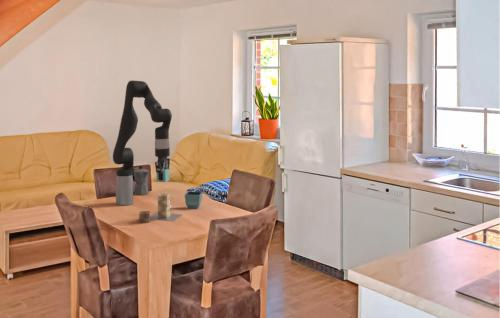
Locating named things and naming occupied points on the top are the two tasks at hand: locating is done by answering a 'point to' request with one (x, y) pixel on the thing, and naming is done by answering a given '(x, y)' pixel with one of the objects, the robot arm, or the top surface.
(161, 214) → the tower base block
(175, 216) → the slate board
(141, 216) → the walnut block
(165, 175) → the teal block
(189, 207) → the flower pot
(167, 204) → the tower top block
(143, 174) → the coffeepot
